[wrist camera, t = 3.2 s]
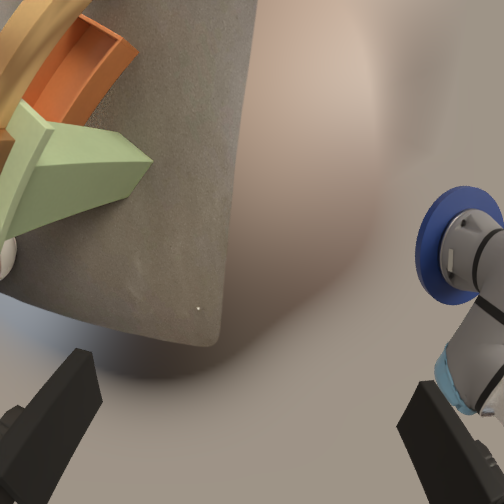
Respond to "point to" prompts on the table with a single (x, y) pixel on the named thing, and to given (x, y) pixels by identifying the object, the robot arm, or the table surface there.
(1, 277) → the lidded bowl
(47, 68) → the open box
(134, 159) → the shelf stand
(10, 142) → the mallet
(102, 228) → the table surface
